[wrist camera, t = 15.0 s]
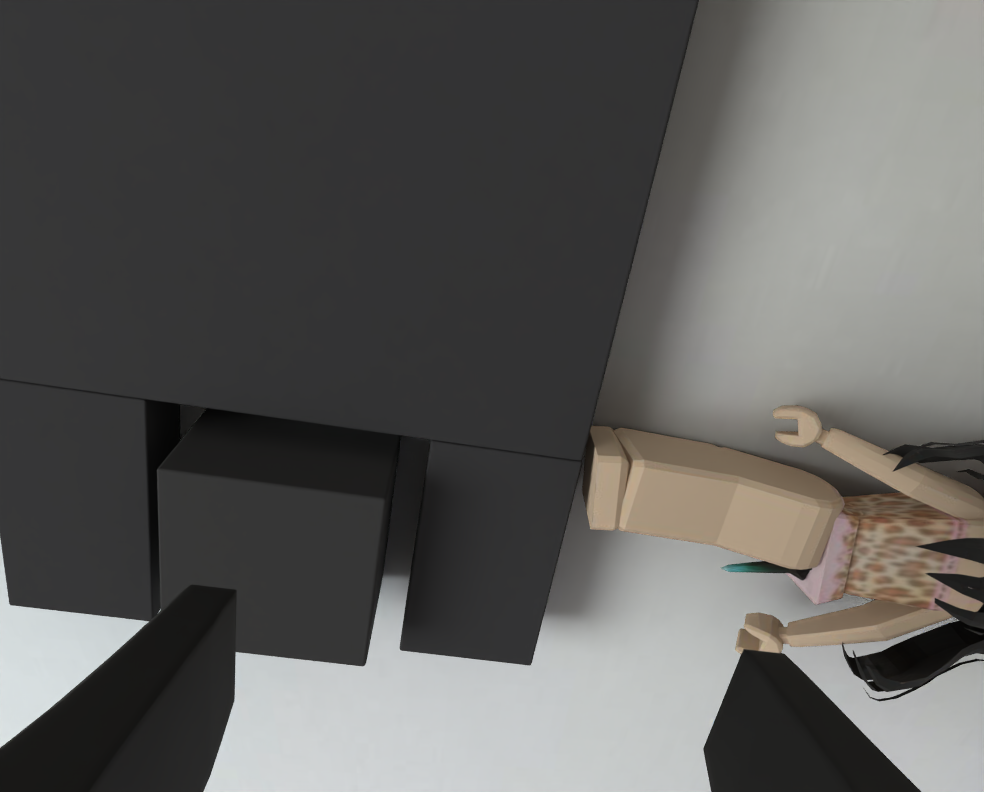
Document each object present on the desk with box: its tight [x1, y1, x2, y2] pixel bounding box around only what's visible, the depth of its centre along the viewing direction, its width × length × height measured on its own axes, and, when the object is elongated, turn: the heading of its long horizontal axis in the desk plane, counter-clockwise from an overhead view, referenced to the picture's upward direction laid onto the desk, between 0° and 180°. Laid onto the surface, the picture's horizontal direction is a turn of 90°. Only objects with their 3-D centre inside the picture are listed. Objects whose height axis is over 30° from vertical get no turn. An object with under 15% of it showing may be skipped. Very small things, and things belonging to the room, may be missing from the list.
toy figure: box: [582, 405, 984, 701], centre depth 18 cm, size 7×6×15 cm
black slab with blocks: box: [0, 0, 699, 665], centre depth 14 cm, size 30×14×2 cm, turn 170°
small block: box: [157, 408, 401, 666], centre depth 18 cm, size 5×5×4 cm
